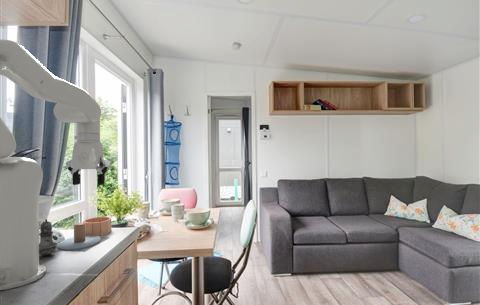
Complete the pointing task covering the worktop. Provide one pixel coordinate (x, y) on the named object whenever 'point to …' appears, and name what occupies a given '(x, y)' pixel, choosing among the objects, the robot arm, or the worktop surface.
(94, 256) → the worktop surface
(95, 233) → the bowl
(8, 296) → the worktop surface
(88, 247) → the mat
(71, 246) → the lid
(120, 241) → the worktop surface
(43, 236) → the grey stone tower figurine
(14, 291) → the worktop surface
